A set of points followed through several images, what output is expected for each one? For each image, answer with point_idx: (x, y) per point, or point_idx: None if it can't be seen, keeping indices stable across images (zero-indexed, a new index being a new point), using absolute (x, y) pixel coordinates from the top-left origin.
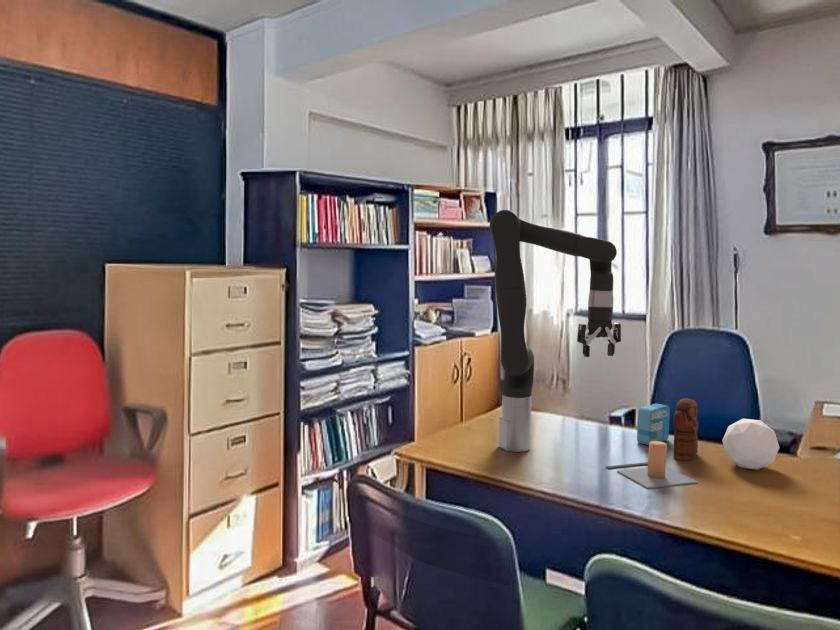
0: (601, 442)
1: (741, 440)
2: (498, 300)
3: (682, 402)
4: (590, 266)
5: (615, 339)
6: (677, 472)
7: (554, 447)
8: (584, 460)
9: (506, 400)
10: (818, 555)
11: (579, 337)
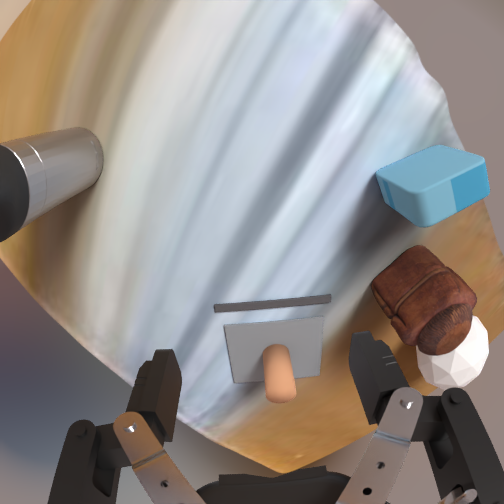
0: (295, 143)
1: (427, 377)
2: None
3: (434, 349)
4: None
5: (419, 439)
6: (320, 345)
7: (158, 162)
8: (190, 260)
9: None
10: (288, 468)
11: (78, 459)
